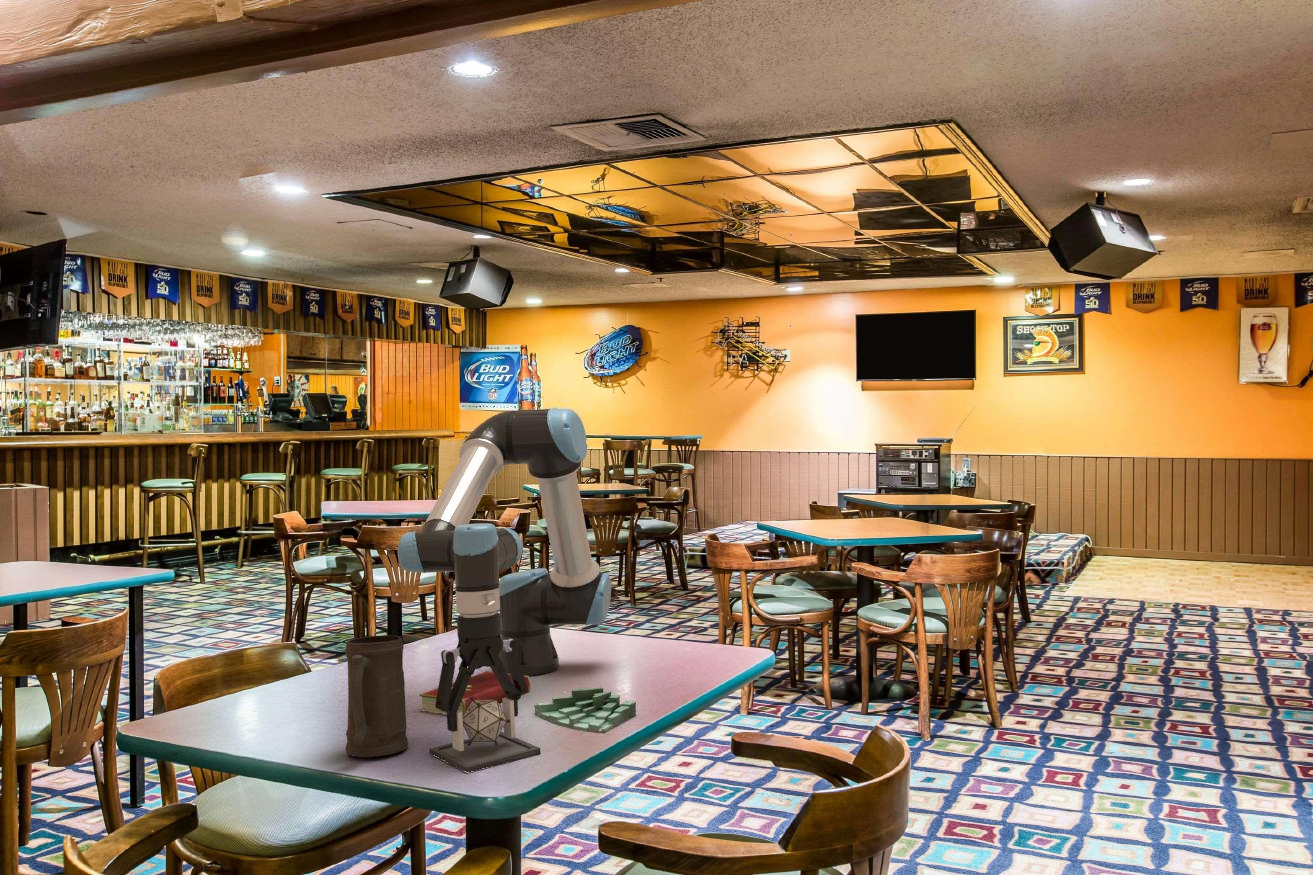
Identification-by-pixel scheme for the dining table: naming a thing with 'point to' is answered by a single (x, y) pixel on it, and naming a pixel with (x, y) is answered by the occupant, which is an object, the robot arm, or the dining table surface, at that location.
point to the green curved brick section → (587, 710)
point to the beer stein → (376, 696)
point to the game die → (484, 720)
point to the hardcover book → (472, 692)
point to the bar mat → (485, 753)
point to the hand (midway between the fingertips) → (484, 742)
